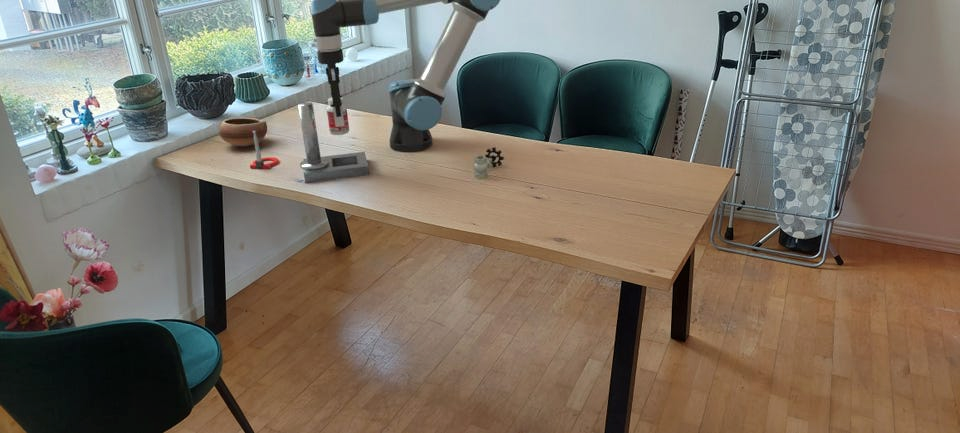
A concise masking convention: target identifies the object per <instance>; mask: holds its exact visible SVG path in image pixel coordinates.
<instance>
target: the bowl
mask: <svg viewBox="0 0 960 433" xmlns="http://www.w3.org/2000/svg"><path fill="white" fill-rule="evenodd" d="M253 131H256V136H257V138H258V143H259V142H261V141H262V140H263V139H264V138H265V137H266V135H267V133H268V125H267V121H266V120H261V119H258V118H251V117H235V118H234V117H233V118H227V119H224V120H223V121H222V122H221V125H220V128H219V137H220V138H221V139H222V140H223V141H224V142H226V143H227V144H230V145H232V146H237V147H250V146H253V145H255V143H254V133H253Z"/></svg>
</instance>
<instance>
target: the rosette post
mask: <svg viewBox="0 0 960 433" xmlns="http://www.w3.org/2000/svg"><path fill="white" fill-rule="evenodd" d="M297 107H298V113H299V118H300V125H301V131H302V138H303V144H304V145H303V146H304V149H305V151H304V152H305V156H306V158H303V160H302V161H301V162H300V164H299V166H300V168H301V169H302V170H303V179H304V183H307V184H308V183H314V182H315V183H316V182H322V181H331V180H338V179H345V178H346V179H347V178H354V177H361V176H362V177H363V176H370V170H369V163H368V160H367V156H366V153H365V152H366V151H359V152H351V153H349V152H348V153H343V154H342V153H341V154H336V155H334V154H332V155H324V156H321V150H320V143H319V137H318V136H319V135H318V131H317V122H316V117H315V110H314V103H313V102H310V101H306V102H301V103H298V104H297Z"/></svg>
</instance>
